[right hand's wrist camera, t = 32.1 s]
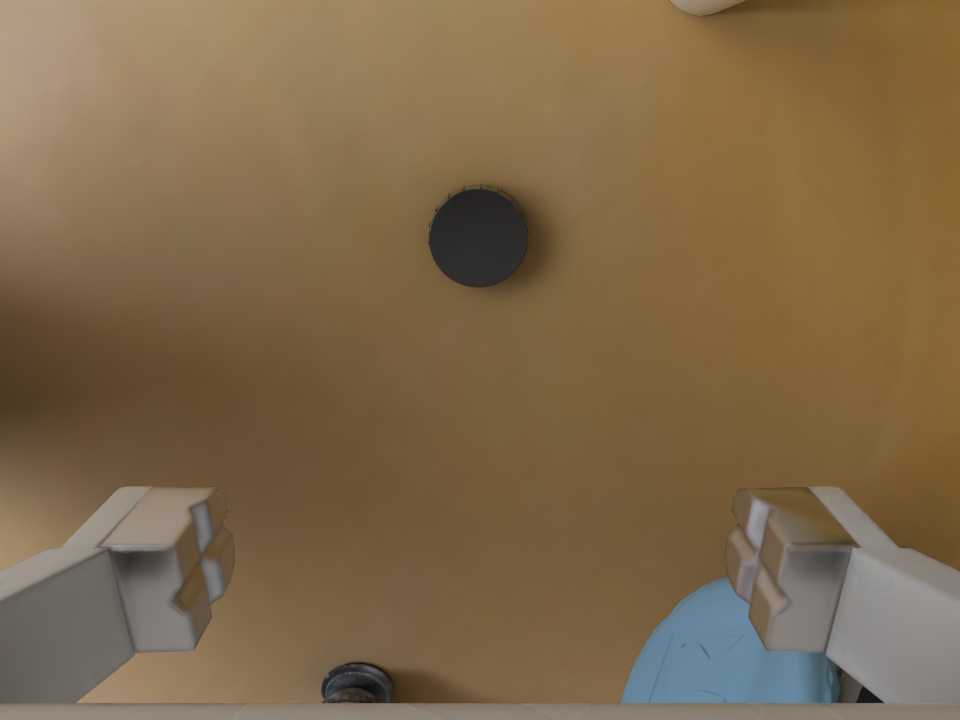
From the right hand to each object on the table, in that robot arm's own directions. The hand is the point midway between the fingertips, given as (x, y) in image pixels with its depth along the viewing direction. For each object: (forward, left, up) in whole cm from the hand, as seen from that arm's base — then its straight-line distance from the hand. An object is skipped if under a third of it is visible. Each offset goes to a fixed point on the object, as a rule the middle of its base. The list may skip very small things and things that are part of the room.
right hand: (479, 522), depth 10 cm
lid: (0, 0, -25) cm, 25 cm away
